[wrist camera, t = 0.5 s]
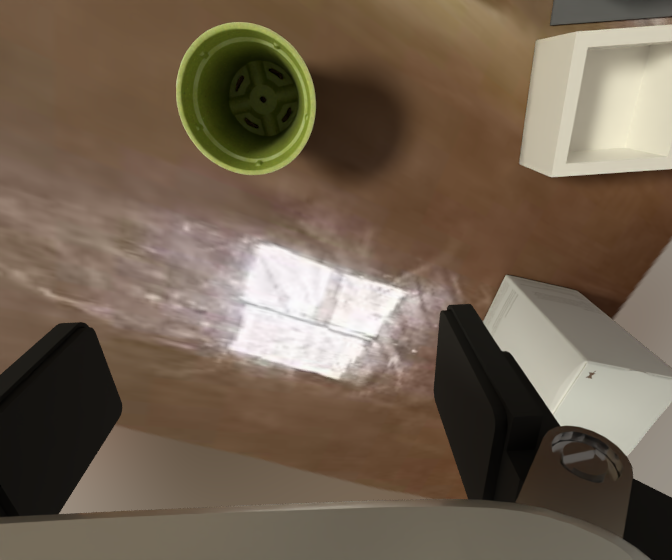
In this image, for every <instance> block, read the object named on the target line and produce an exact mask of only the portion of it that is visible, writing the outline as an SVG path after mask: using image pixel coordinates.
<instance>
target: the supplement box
mask: <svg viewBox="0 0 672 560" xmlns="http://www.w3.org/2000/svg"><path fill="white" fill-rule="evenodd" d="M483 323H484V325H485V326H486V328H487V329H488V331H489V332H490V334H491V335H492V337H493V339H494V340H495V342H496V343H497V345H498V346H499V348H500V349H501V351H507V352H510V354H511V355H512V356H513V357H514V359H515V360H516V361H517V363H518V364H519V366H520V367H521V369H522V370H523V372H524V373H525V375H526V376H527V378H528V379H529V381H530V382H531V383H532V385H533V386H534V388H535V389H536V391H537V392H538V394H539V395H540V397H541V398H542V400H543V401H544V403H545V404H546V405H547V407H548V408H549V410H550V411H551V413H552V414H553V416H554V417H555V419H556V420H557V422H558V423H559V425H560V426H567V425H568V426H576V427H582V428H585V429H588V430H591V431H594V432H596V433H598V434H600V435H602V436H604V437H606V438H607V439H609V440H610V441H611V442H613V443H614V444H615V445H617V446H618V447H619V448H620V449H621V450H622V452H623V453H624V454H625V455H626V456H628V454H629V453H630V452H631V451H632V450H633V449H634V448H635V446H636V445H637V444H638V442H639V441H640V440H641V439H642V437H643V436H644V435H645V434H646V432H647V431H648V430H649V429H650V427H651V426H652V425H653V424H654V422H655V421H656V420H657V419H658V418H659V416H660V415H661V414H662V413H663V412H664V410H665V409H666V408H667V407H668V406H669V405H670V403H671V402H672V368H671V367H670V366H669V365H667V364H666V363H665V362H663V361H662V360H661V359H660V358H659V357H657V356H656V355H655V354H654V353H653V352H651V351H650V350H649V349H648V348H647V347H645V346H644V345H643V344H641V343H640V342H639V341H638V340H637V339H635V338H634V337H633V336H632V335H631V334H629V333H628V332H627V331H626V330H624V329H623V328H622V327H621V326H620V325H618V324H617V323H616V322H615V321H614V320H612V319H611V318H610V317H609V316H607V315H606V314H605V313H604V312H602V311H601V310H600V309H599V308H598V307H596V306H595V305H594V304H593V303H592V302H590V301H589V300H588V299H587V298H586V297H584V296H583V295H582V294H581V293H579V292H578V291H576V290H572V289H568V288H564V287H559V286H555V285H550V284H546V283H542V282H537V281H533V280H529V279H524V278H520V277H515V276H511V275H506V276H505V278H504V280H503V282H502V284H501V286H500V288H499V290H498V292H497V294H496V296H495V298H494V300H493V303H492V305H491V307H490V309H489V311H488V313H487V315H486V317H485V319H484V321H483Z"/></svg>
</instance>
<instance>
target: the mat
mask: <svg viewBox="0 0 672 560" xmlns="http://www.w3.org/2000/svg"><path fill="white" fill-rule="evenodd" d="M669 16H672V0H554V2H553V9H552V15H551V22H550V25H561V24H575V23H588V22H602V21H615V20H628V19H642V18H655V17H669Z"/></svg>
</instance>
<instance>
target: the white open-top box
mask: <svg viewBox="0 0 672 560" xmlns="http://www.w3.org/2000/svg"><path fill="white" fill-rule="evenodd" d="M519 164H520V165H523V166H525V167H528V168H530V169H532V170H535V171H537V172H540V173H542V174H545V175H547V176H549V177H562V176H577V175H591V174H606V173H620V172H635V171H649V170H664V169H672V25H661V26H647V27H634V28H620V29H607V30H593V31H580V32H573V33H568V34H564V35H559V36H554V37H550V38H545V39H540V40H536V43H535V50H534V57H533V65H532V72H531V79H530V87H529V94H528V102H527V109H526V116H525V124H524V131H523V138H522V146H521V153H520V160H519Z"/></svg>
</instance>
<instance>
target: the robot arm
mask: <svg viewBox="0 0 672 560" xmlns="http://www.w3.org/2000/svg"><path fill="white" fill-rule="evenodd" d="M434 397H435V402H436V405H437V408H438V411H439V414H440V417H441V420H442V423H443V426H444V429H445V432H446V435H447V437H448V440H449V443H450V446H451V449H452V452H453V455H454V458H455V461H456V464H457V467H458V470H459V473H460V476H461V479H462V482H463V485H464V488H465V491H466V494H467V497H468V499H420V500H377V501H348V502H323V503H300V504H299V503H296V504H273V505H248V506H247V505H246V506H225V507H202V508H178V509H158V510H135V511H113V512H93V513H75V514H59V512H60V511H61V509H62V508H63V506H64V505H65V503H66V501H67V500H68V498H69V497H70V495H71V494H72V492H73V490H74V489H75V487H76V486H77V484H78V482H79V481H80V479H81V477H82V476H83V474H84V473H85V471H86V470H87V468H88V466H89V464H90V463H91V462H92V460H93V459H94V457H95V455H96V454H97V452H98V451H99V449H100V448H101V446H102V444H103V443H104V441H105V440H106V438H107V436H108V435H109V433H110V432H111V430H112V428H113V427H114V425H115V424H116V422H117V421H118V419H119V417H120V415H121V412H122V402H121V400H120V397H119V394H118V392H117V389H116V386H115V383H114V381H113V378H112V375H111V373H110V370H109V367H108V365H107V362H106V359H105V357H104V354H103V351H102V349H101V346H100V343H99V341H98V338H97V335H96V333H95V331H94V329H93V328H90V327H89V326H88V325H87V324H86V323H83V322H79V323H61V324H58V325H57V326H55V327H54V328H53V329H52V330H51V331H50V332H48V333H47V334H46V335H45V336H44V337H43V338H42V339H40V340H39V341H38V342H37V343H36V344H35V345H34V346H33V347H31V348H30V349H29V350H28V351H27V352H26V353H25V354H23V355H22V356H21V357H20V358H19V359H18V360H17V361H16V362H14V363H13V364H12V365H11V366H10V367H9V368H8V369H6V370H5V371H4V372H3V373H2V374H1V375H0V560H672V498H671V497H669V496H667V495H665V494H663V493H661V492H659V491H657V490H655V489H653V488H651V487H649V486H647V485H645V484H643V483H641V482H639V481H637V480H635V479H633V471H632V465H631V463H630V462H629V460H628V458H627V456H626V455H625V454H624V453H623V452H622V450H621V449H620V448H619V447H618V446H617V445H615V444H614V443H613V442H611V441H610V440H609V439H607V438H606V437H604V436H602V435H600V434H598V433H596V432H594V431H591V430H588V429H585V428H582V427H576V426H568V425H567V426H560V425H559V423H558V422H557V420H556V419H555V417H554V416H553V414H552V413H551V411H550V410H549V408H548V407H547V405H546V404H545V403H544V401H543V400H542V398H541V397H540V395H539V394H538V392H537V391H536V389H535V388H534V386H533V385H532V383H531V382H530V381H529V379H528V378H527V376H526V375H525V373H524V372H523V370H522V369H521V367H520V366H519V364H518V363H517V361H516V360H515V359H514V357H513V356H512V355H511V354H510V352H507V351H501V349H500V348H499V346H498V345H497V343H496V342H495V340H494V339H493V337H492V335H491V334H490V332H489V331H488V329H487V328H486V326H485V325H484V323H483V322H482V320H481V319H480V317H479V316H478V314H477V312H476V311H475V309H474V308H473V306H472V305H471V304H460V305H449V306H448V307H447V310H446V311H441V313H440V321H439V333H438V345H437V357H436V369H435V381H434Z"/></svg>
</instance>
